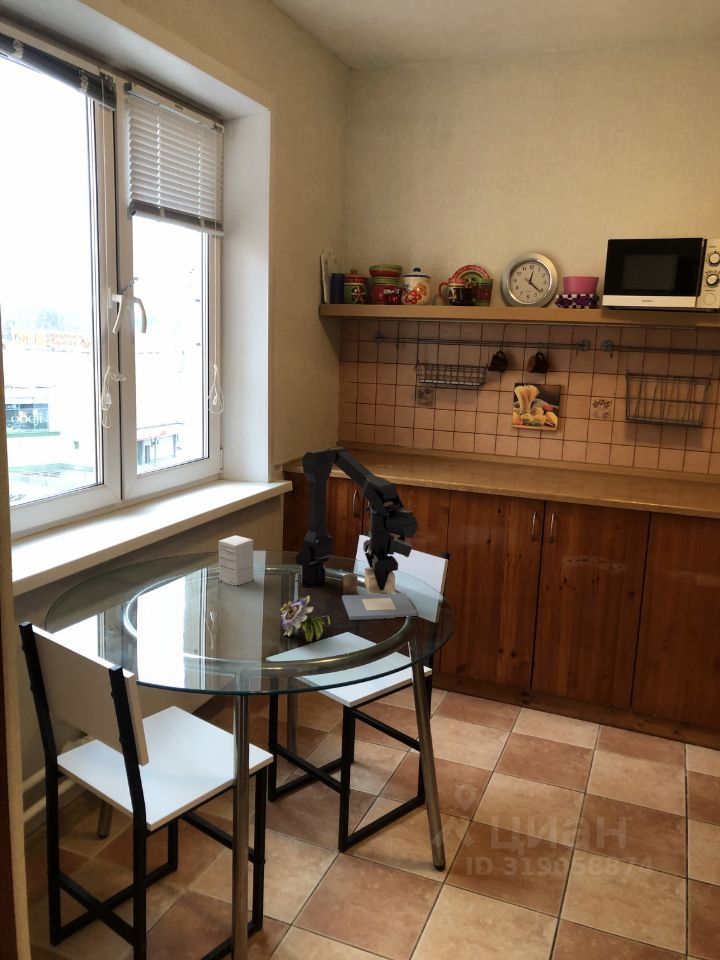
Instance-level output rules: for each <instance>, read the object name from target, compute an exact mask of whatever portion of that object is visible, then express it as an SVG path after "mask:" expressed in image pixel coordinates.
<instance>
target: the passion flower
mask: <svg viewBox="0 0 720 960" xmlns="http://www.w3.org/2000/svg"><path fill="white" fill-rule="evenodd" d="M310 600H311V596H310V595H307V596H306V597H301V598H298V599H297V598H296V599H295V600H293V601H290V600H288V601H286V603H284V604H283V606H282V607H281V608H280V616H281V618H280V620H281V623H282V625H281V627H282V628H283V630H285V632H284V634H283V636H284V635H288V636H287V637H291V636H292V635H293V634H294V633H295V631H296V630H299V629H301V628H302V630H303V631H304V636H305V641H306V642H307V641H312V642H313V637H314V630H315V637H316V640H317V641H319V639H320V638H321V636H322V634H323V633H324V629H323V627H324V626H323V625H325V621H324V620H323V619H322V618H327V624H328V626H331V618H330V615H323V616H321V617H320V616H319V617H317V616H315V617H313V616H312V615H313V614H312V612H314V606H308V605H309V603H310ZM313 628H314V630H313Z"/></svg>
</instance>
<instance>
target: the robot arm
mask: <svg viewBox="0 0 720 960" xmlns="http://www.w3.org/2000/svg"><path fill="white" fill-rule="evenodd" d="M301 461H302V462H301V463H302V469H303V470H302V471H303V474H304V476H305V477H306V480H307V481H308V531H307V533H306V534H305V536H304V539H303V541H302V548H301V550H300V551H299V552H298V554H297V555H296V556H295V557H294V558H295V563H296V565H297V566H298V565H299V566H300V569H301V570H300V578H299V579H300V580H299V581H300V583H301V587H323V586H325V582H326V567H325V565H324V563H327V562H329V559H330V556H332V553H333V550H335V549H334V537H333V536H330V534H329V533H328V531H327V481H328V479H329V477H330V475H331V473H332V470H333V465H335V466H336V467H337V468H338V469H339V470H341V471H342V472H343V473H344V474H345V476H348V478H350V479H351V480H352V481H353V482H354V483H355V484H357V486H359V488H360V489H361V492H362V495H363V497H364V498H365V500H367V502H368V503H369V504H368V505H367V506H365V507H364V511H366V512H369V513H370V524H369V525H370V527H369V530H368V536H369V539H366V540H365V541H364V542H363V546H362V547H363V548H362V549H363V552H364V555H365V557H366V558H365V559H366V560H367V563H368V566H369V568H372V569H373V572H374V575H375V578H376V581H377V584H378V587H379V590H384V588H385V584H386V581H387V578H388V575H389V573H390V572H392V571H393V572H394V571H398V570H399V562H398V560H397V559H396V558H395V557H394V555H395V553H396V554H399V555H402V556H404V557H406V558H409V557H410V554H411V552H412V551H413V550H412V549H413V547H414V546H413V545H412V543H411V542H409V541H408V540H406V539H410V538H413V537H414V536H415V535H416V533H417V530H418V527H419V523H418V521H417V518H416V517H415V516H414V511H412V510H405V506H404V503H403V501H402V500H401V497H400V495H399V493H398V490H397V487H396V485H395V484H394V483H392V482H391V481H390V480H387V479H386V478H383V477H380V476H378V475H376V474H374V473H372V472H371V471H370V470H369V469H368V468H366V467H365V466H364V465H363V464H362V463H361V462H360V461H359V460H357V458H355V457H354V456H353V455H352V454H351V453H349V451H348V449H347V448H346V447H343V446H340V447H333V448H331V449H329V450H327V449H318V450H313V451H312V450H311V451H306V453H305V454H304V455H302V460H301Z"/></svg>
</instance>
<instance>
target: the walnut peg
mask: <svg viewBox="0 0 720 960" xmlns="http://www.w3.org/2000/svg"><path fill="white" fill-rule="evenodd" d="M358 578H359V577H358V575H357V574H354V573H346V574H344V575H343V580H342V581H343V585H342V589H343V590H342V592H343V593H342V594H344V595H358Z"/></svg>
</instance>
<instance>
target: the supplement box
mask: <svg viewBox="0 0 720 960" xmlns="http://www.w3.org/2000/svg"><path fill="white" fill-rule="evenodd" d="M218 575H219V576H218V577H219V579H222V580H224V581H227V582H229V583H232V584H235V585H239V586H241V585H240V584H242V583H244V584H246V583H245V582H247V581H249V582H251V581H250V580H252V581H254V580H253V579H255V578H254V539H251V538H249V537H248V538H247V537H244V536H240V535H232V536H229V537H226V538H224V539H220V540H218ZM219 579H218V580H219ZM247 583H248V582H247ZM242 585H243V584H242Z"/></svg>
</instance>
